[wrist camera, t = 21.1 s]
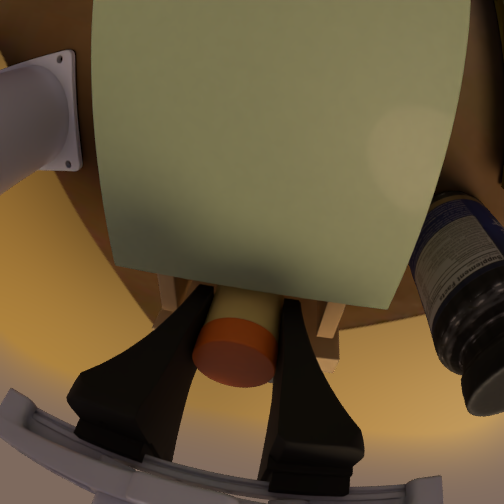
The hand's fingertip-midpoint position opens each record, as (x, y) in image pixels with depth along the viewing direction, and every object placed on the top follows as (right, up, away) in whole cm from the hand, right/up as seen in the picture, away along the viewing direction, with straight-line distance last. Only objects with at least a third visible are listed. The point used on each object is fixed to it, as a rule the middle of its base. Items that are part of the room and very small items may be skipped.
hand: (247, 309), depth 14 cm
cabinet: (+2, +11, 0) cm, 11 cm away
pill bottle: (+12, +4, +3) cm, 13 cm away
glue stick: (0, +1, +1) cm, 1 cm away
